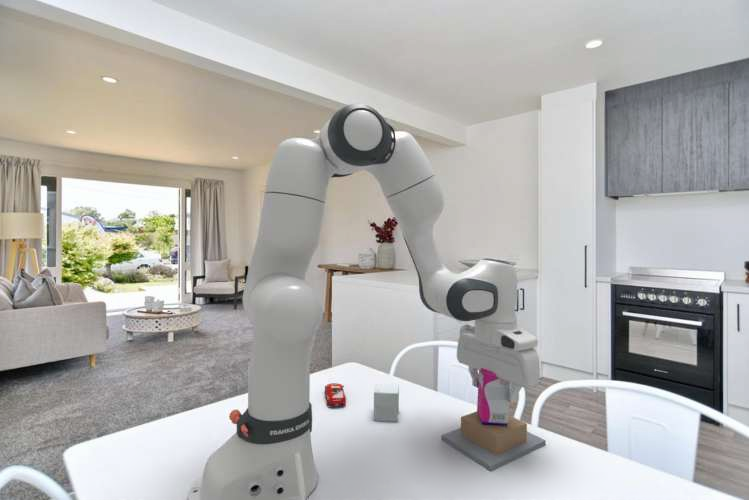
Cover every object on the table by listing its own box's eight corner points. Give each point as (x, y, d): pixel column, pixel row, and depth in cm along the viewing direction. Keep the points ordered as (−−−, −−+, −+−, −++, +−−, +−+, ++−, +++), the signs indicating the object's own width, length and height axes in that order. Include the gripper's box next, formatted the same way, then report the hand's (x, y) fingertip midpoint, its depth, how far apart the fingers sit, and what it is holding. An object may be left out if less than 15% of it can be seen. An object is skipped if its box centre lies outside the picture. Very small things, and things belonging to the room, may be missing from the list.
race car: (324, 390, 116) (324, 377, 116) (342, 389, 117) (342, 376, 117) (326, 410, 103) (326, 395, 103) (346, 409, 104) (346, 394, 104)
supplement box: (501, 413, 90) (504, 364, 89) (508, 426, 84) (511, 375, 84) (476, 411, 91) (478, 363, 90) (480, 424, 85) (483, 373, 84)
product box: (397, 422, 96) (398, 393, 96) (373, 421, 97) (373, 392, 97) (399, 411, 102) (399, 383, 102) (375, 410, 103) (376, 382, 103)
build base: (490, 471, 77) (491, 446, 77) (441, 439, 88) (441, 417, 88) (545, 444, 87) (546, 422, 86) (494, 419, 98) (495, 399, 98)
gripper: (451, 324, 93) (450, 381, 94) (525, 345, 76) (523, 414, 77) (469, 321, 97) (468, 376, 97) (545, 340, 80) (543, 407, 80)
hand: (493, 393), depth 87 cm, fingers open, 8 cm apart
